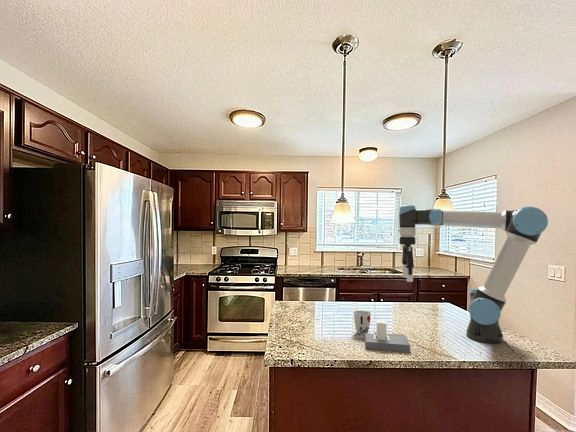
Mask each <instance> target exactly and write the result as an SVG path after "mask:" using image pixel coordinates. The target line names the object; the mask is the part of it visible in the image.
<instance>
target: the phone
mask: <svg viewBox="0 0 576 432" xmlns="http://www.w3.org/2000/svg"><path fill="white" fill-rule="evenodd" d="M374 334H377V332H374ZM386 335H399V336H406V335H405V334H396V333H386Z"/></svg>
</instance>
